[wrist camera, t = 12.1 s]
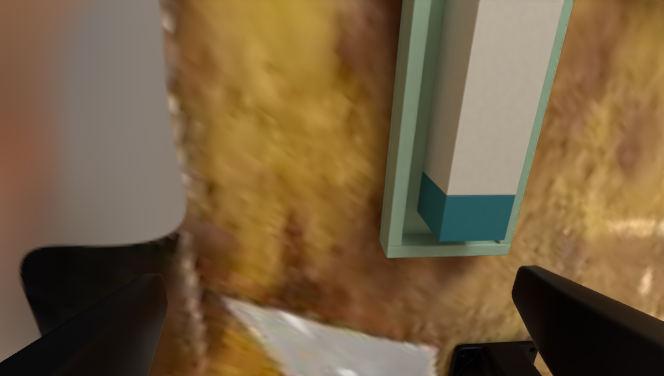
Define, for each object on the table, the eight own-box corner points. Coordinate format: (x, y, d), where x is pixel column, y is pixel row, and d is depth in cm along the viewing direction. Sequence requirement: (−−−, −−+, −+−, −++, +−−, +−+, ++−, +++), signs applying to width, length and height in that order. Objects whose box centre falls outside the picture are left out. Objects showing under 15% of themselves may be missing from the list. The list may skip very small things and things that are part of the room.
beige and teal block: (450, -39, 17) (489, -59, 13) (522, -34, 17) (577, -53, 14) (416, 211, 21) (438, 242, 18) (473, 210, 22) (504, 240, 19)
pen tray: (491, 238, 23) (508, 255, 22) (378, 241, 23) (386, 258, 21) (567, -85, 17) (601, -101, 15) (411, -98, 16) (426, -116, 14)
